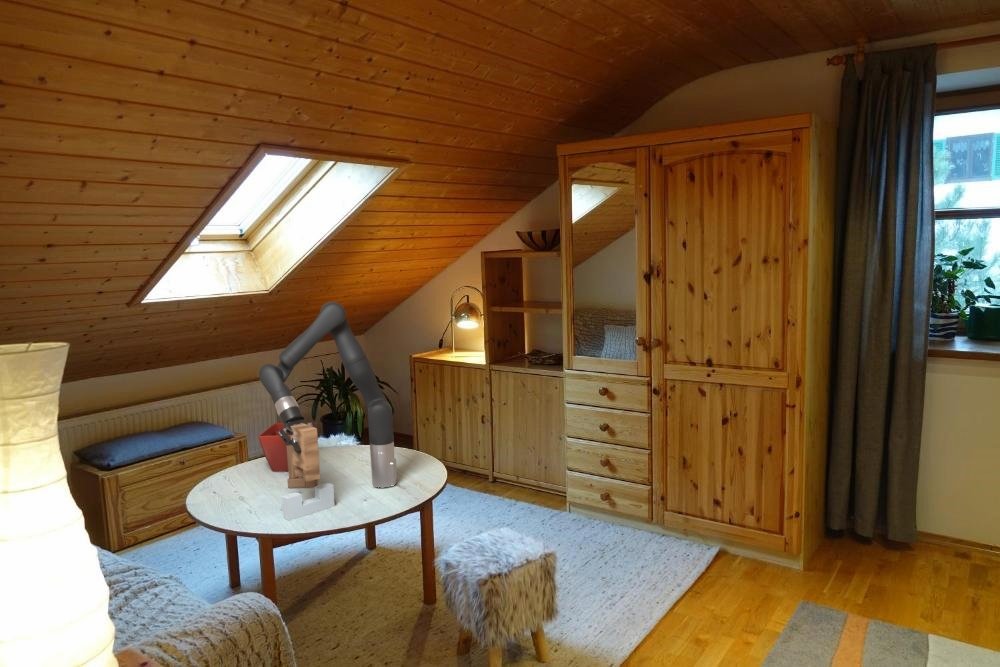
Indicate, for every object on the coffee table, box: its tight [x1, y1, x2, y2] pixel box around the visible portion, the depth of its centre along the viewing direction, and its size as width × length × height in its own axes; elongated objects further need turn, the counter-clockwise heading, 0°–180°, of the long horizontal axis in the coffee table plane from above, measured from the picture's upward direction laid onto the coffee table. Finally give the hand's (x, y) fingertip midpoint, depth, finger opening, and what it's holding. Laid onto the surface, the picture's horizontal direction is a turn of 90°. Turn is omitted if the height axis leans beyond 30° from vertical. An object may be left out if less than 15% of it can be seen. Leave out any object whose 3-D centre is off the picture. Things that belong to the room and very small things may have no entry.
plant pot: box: [258, 421, 318, 473], centre depth 303 cm, size 19×19×17 cm
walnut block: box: [290, 423, 321, 482], centre depth 251 cm, size 10×5×18 cm, turn 43°
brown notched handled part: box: [286, 445, 318, 489], centre depth 279 cm, size 4×11×18 cm, turn 88°
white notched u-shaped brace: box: [281, 482, 336, 522], centre depth 254 cm, size 18×4×8 cm, turn 133°
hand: (307, 450), depth 250 cm, fingers closed on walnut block, 5 cm apart
